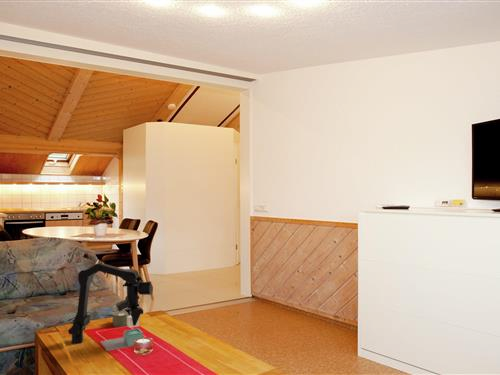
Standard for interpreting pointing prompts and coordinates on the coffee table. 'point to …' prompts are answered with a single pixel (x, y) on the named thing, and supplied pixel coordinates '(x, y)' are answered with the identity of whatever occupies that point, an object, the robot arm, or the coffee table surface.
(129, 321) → the off-white block
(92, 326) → the coffee table surface
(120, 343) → the plate
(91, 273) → the robot arm
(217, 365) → the coffee table surface
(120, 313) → the can
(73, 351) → the coffee table surface
